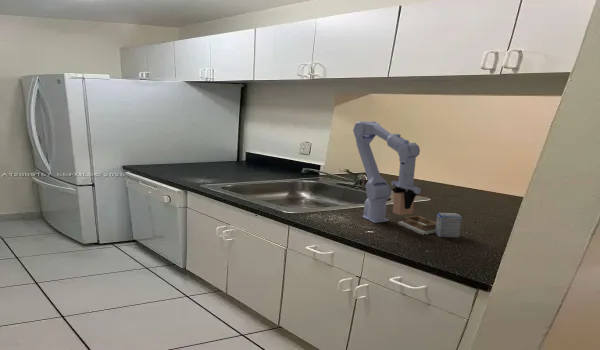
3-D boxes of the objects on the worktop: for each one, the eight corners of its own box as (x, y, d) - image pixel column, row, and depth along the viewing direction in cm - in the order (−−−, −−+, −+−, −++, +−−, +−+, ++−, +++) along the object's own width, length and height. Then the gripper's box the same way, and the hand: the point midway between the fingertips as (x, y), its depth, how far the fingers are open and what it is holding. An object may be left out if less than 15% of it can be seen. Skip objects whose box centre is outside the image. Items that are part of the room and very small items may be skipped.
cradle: (397, 223, 149) (398, 217, 149) (418, 220, 155) (419, 214, 154) (422, 234, 137) (423, 227, 137) (444, 231, 142) (445, 224, 142)
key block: (392, 212, 142) (394, 193, 140) (406, 210, 145) (407, 191, 143) (399, 215, 138) (401, 195, 137) (412, 213, 141) (414, 194, 140)
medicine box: (454, 233, 140) (456, 212, 138) (459, 237, 136) (462, 216, 134) (434, 233, 140) (437, 212, 138) (439, 237, 135) (442, 215, 134)
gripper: (386, 171, 143) (383, 203, 146) (411, 177, 130) (408, 212, 133) (400, 170, 146) (397, 201, 149) (426, 176, 133) (422, 211, 136)
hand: (403, 206), depth 141 cm, fingers closed on key block, 4 cm apart
